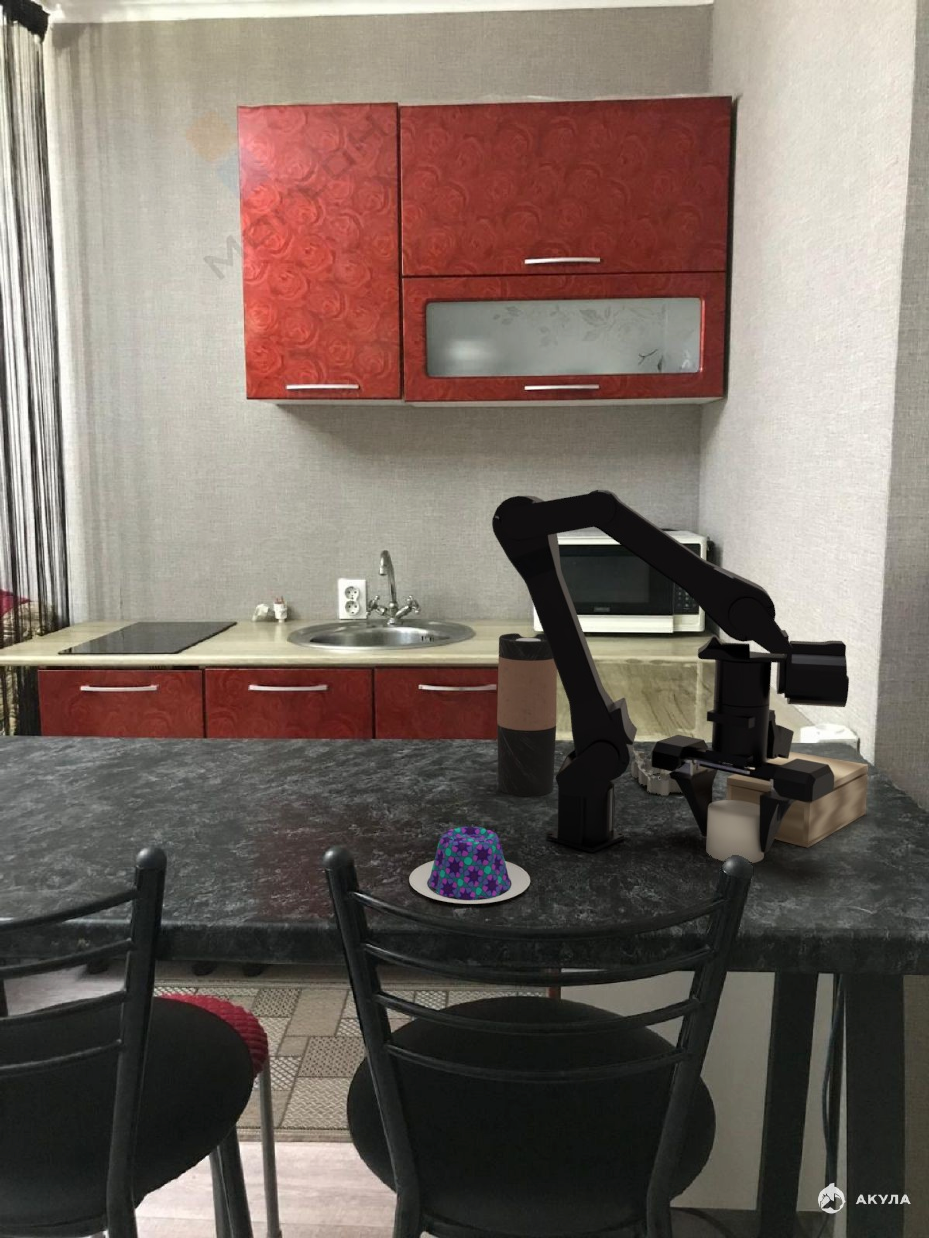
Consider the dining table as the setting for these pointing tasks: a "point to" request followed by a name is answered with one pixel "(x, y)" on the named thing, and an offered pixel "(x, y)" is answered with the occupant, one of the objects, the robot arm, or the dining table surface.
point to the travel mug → (526, 715)
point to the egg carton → (652, 776)
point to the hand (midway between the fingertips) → (735, 843)
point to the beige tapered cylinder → (734, 830)
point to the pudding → (469, 869)
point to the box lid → (840, 768)
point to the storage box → (814, 811)
